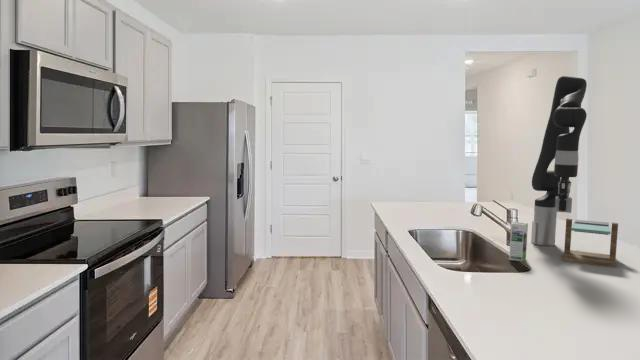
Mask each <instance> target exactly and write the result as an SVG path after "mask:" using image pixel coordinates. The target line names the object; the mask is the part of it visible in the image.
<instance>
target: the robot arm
mask: <svg viewBox="0 0 640 360" xmlns="http://www.w3.org/2000/svg"><path fill="white" fill-rule="evenodd" d="M587 85H588V84H587V80H586V79H585V78H583V77H575V76H569V75H568V76H567V75H560V76H559V77H558V79H557V80H556V83H555V87H554V92H553V93H554V94H553V98H552V105H551V110H550V114H549V117H548V119H547V120H548V121H547V124H546V127H545V132H544V135H543V140H542V145H541V149H540V153H539V155H538V160H537V161H536V165H535V167H534V171H533V174H532V178H531V186H532V189H533V190H534V191H537V192H546V193H545V194H544V195H542V196H541V197H537V198H536V199H535V200H534V206H533V207H534V209H533V221H532V222H531V235H530V236H531V238H530V239H531V240H530V242H531V243H532V244H534V245H539V246H549V247H551V246H555V244H556V233H557V232H556V230H557V217H558V216H557V215H558V212H556V211H555V201H556V196H558V198H559V200H560V201H559V210H560V211H565V210H566V201H567V197H570V192H571V186H572V181H571V180H570V178H576V177H578V168H579V144H580V143H579V142H580V136H581V134H582V130H583V128H584V126H585V124H586V120H587V111H586V110H585V109H584V107H583V108H582V103H583V100H584V98H585V95H586V91H587V88H588V87H587ZM570 128H573V130H572V131H571V130H570ZM570 131H571V132H570ZM553 161H554V166H553V167H554V168H553V170H549V167H550V165H551V163H552V162H553Z"/></svg>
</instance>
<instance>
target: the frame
mask: <svg viewBox="0 0 640 360" xmlns="http://www.w3.org/2000/svg"><path fill="white" fill-rule="evenodd" d="M572 225H573V218H566V219H565V233H564V234H565V235H564V250H563V254H562V257H561V261H563V262H570V263H578V264H585V265H591V266H592V265H593V266H601V267H607V268H616V269H617V259H616V257H617V245H618V233H619V232H618V228H619V223H618V222H611V229H610V230H611V234H610V244H609V245H610V247H609V254H607V253H601V252H599V253H598V252H590V251H589V252H588V251H581V250H574V249H571V245H572V231H571V227H572Z"/></svg>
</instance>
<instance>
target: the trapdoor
mask: <svg viewBox="0 0 640 360" xmlns="http://www.w3.org/2000/svg"><path fill="white" fill-rule="evenodd" d="M611 230H612V229H611V226H610V222H605V221H596V220H595V221H593V220H583V219H575V221H574V222H572V227H571V232H572V231H573V232H574V233H575V232H578V233H585V234H596V235H597V234H598V235H605V236H606V235H607V236H609V235H611Z"/></svg>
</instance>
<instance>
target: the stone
mask: <svg viewBox="0 0 640 360" xmlns="http://www.w3.org/2000/svg"><path fill="white" fill-rule="evenodd" d="M559 201H560V200H559V198H558V196H556V201H555V211H556V212H557V213H569V214H571V213H572V209H573V208H572V207H573V206H572V205H573V198H572V197H571V196H569V197H567V201H566V210H565V211H560V210H559Z"/></svg>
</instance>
